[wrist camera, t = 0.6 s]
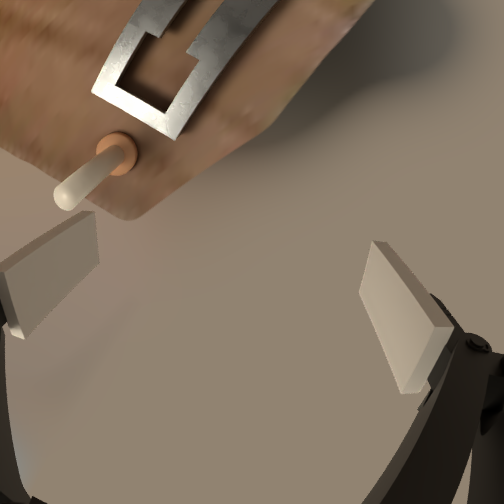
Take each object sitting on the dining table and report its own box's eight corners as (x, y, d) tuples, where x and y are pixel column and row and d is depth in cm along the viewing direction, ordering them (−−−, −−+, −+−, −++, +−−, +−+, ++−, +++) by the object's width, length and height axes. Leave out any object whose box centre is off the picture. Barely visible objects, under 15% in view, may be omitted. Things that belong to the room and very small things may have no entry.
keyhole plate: (203, -62, 21) (198, -70, 19) (295, -16, 25) (297, -21, 23) (102, 88, 33) (90, 91, 31) (181, 134, 37) (174, 140, 35)
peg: (109, 124, 36) (50, 161, 25) (144, 145, 38) (95, 189, 27) (94, 159, 39) (38, 205, 28) (127, 179, 41) (79, 232, 30)
